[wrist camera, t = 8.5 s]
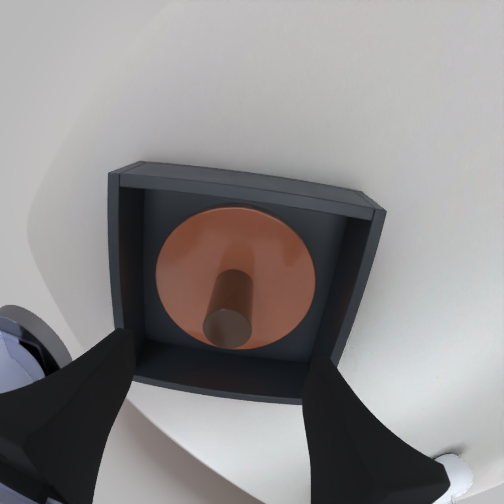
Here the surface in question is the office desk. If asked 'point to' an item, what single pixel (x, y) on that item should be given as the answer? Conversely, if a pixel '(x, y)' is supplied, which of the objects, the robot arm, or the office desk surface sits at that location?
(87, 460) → the robot arm
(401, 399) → the office desk surface
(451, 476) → the plain white apple
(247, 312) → the knobbed copper disc
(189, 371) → the charcoal square tray
